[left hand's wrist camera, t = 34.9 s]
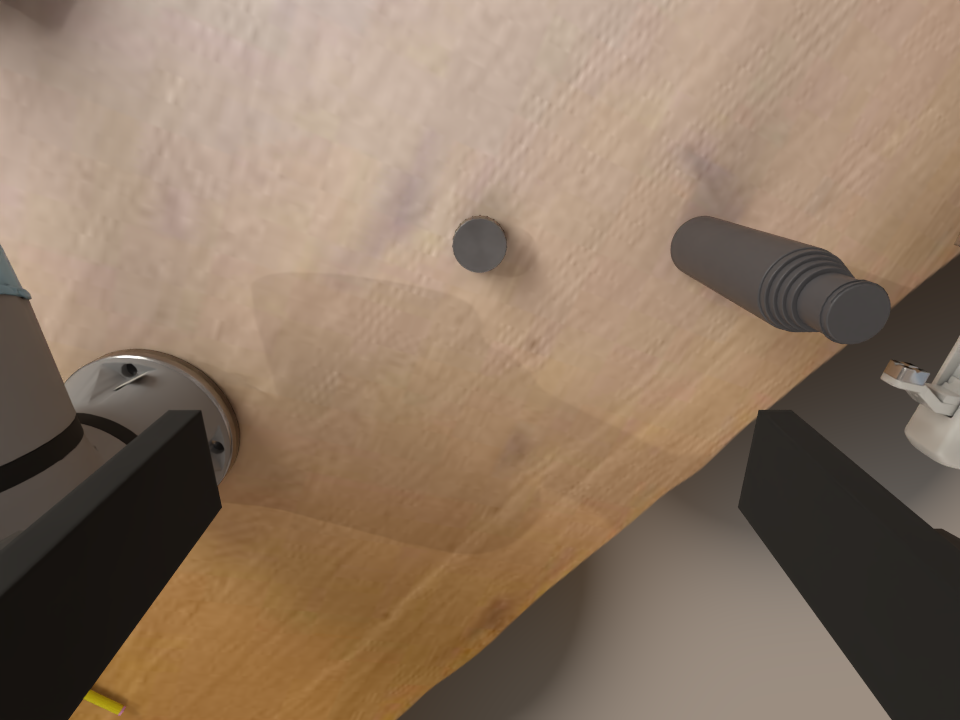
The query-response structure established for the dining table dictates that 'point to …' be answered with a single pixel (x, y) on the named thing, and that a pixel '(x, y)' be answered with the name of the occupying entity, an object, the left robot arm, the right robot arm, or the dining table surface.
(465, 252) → the cap
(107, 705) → the pencil
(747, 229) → the bottle
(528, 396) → the dining table surface
